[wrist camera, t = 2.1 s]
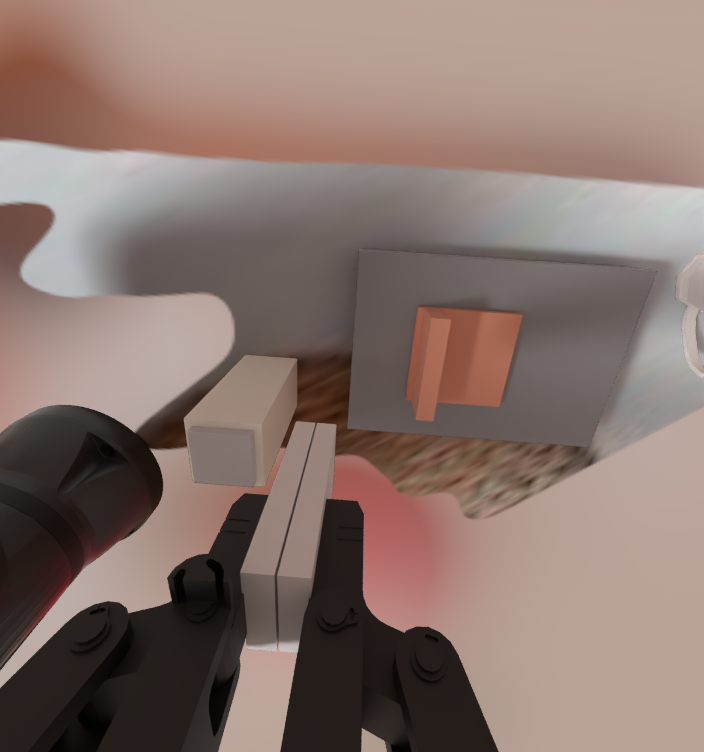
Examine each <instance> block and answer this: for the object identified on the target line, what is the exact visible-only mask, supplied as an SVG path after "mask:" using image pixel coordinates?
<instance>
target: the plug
mask: <svg viewBox="0 0 704 752" xmlns="http://www.w3.org/2000/svg"><path fill="white" fill-rule="evenodd" d="M296 407H297V359H296V358H282V357H269V356H255V355H245V356H244V357H243V358H242V359H241V360H240V361H239V362H238V363H237V364H236V365H235V366H234V367H233V368H232V369H231V370H230V371H229V372H228V373H227V374H226V375H225V376H224V377H223V378H222V379H221V380H220V381H219V383H218V384H217V385H216V386H215V387H214V388H213V389H212V390H211V391H210V392H209V393H208V394H207V395H206V396H205V397H204V398H203V399H202V400H201V401H200V402H199V403H198V404H197V405H196V406H195V407H194V408H193V409H192V410H191V411H190V412H189V413H188V414H187V416H186V417H185V418H184V425H185V432H186V439H187V446H188V453H189V460H190V466H191V473H192V480H193V482H195V483H206V484H219V485H231V486H244V487H254V486H258V487H265V484H266V482H267V479H268V477H269V474H270V471H271V469H272V467H273V464H274V462H275V459H276V457H277V454H278V452H279V449H280V447H281V444H282V442H283V439H284V437H285V434H286V432H287V429H288V427H289V424H290V422H291V419H292V417H293V414H294V412H295V409H296Z"/></svg>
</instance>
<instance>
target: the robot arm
mask: <svg viewBox="0 0 704 752" xmlns="http://www.w3.org/2000/svg"><path fill="white" fill-rule="evenodd" d="M335 442H336V424H325V423H317V425H316V429H315V423H312V422H299V421H296V423H295V426H294V429H293V432H292V434H291V437H290V440H289V442H288V445H287V448H286V450H285V453H284V456H283V459H282V461H281V464H280V466H279V469H278V472H277V475H276V477H275V480H274V483H273V485H272V488H271V491H270V493H269V495H260V494H247V493H245V494H243V495H242V496H241V497H240V498H239V499H238V500H237V501H236V502H235V503H234V504H233V505H232V507H231V509H230V511H229V513H228V515H227V517H226V520H225V521H224V523H223V525H222V527H221V529H220V533H218V535H217V537H216V540H215V541H214V544H213V546H212V547H211V549H210V552H209V554H201V555H197V556H194V557H191V558H189V559H186V560H185V561H184V562H182V563H181V564H180V565H178V566H177V567H175V569H174V570H173V571H172V572H171V574H170V575H169V576H168V578H167V579H168V584H169V589H170V594H171V598H172V601H171V602H169V603H167V604H164V605H161V606H158V607H154V608H149V609H145V610H141V611H136V612H132V613H128V611H127V608H126V607H124V606H123V605H122V604H120V603H117V602H109V601H107V602H103V603H99V604H94V605H92V606H91V607H88V608H86V609H85V610H83V611H81V612H79V613H78V614H77V615H75V616H74V617H73V618H72V619H70V620H69V621H68V622H67V623H66V624H65V625H64V626H63V627H62V628H61V629H60V630H59V631H58V632H57V633H56V634H54V635H53V637H51V638H50V639H49V640H48V641H47V642H46V644H44V645H43V646H42V647H41V648H40V649H39V650H38V651H37V652H36V653H35V654H34V655H33V656H32V657H31V658H30V659H29V660H28V661H27V662H26V663H25V664H24V665H23V666H22V667H21V668H20V669H19V670H18V671H17V672H16V673H15V674H14V675H13V676H12V677H11V678H10V679H9V680H8V681H7V682H6V683H5V684H4V685H3V686H2V687H1V688H0V752H218V750H219V746H220V743H221V739H222V736H223V732H224V728H225V725H226V721H227V718H228V714H229V711H230V707H231V704H232V700H233V697H234V693H235V690H236V686H237V682H238V679H239V673H240V654H241V651H242V648H243V645H244V642H245V638H246V644H247V648H248V649H259V650H271V651H277V648H278V643H279V651H283V652H293V653H297V659H296V664H295V670H294V676H293V682H292V687H291V693H290V699H289V705H288V711H287V717H286V722H285V729H284V734H283V740H282V746H281V751H280V752H361V735H362V728H363V729H365V730H367V731H369V732H370V733H372V734H374V735H375V736H377V737H379V738H381V739H382V740H384V741H385V744H386V749H387V752H498V749H497V747H496V744H495V742H494V740H493V737H492V735H491V733H490V730H489V728H488V725H487V723H486V720H485V718H484V716H483V713H482V711H481V708H480V706H479V704H478V701H477V699H476V696H475V694H474V692H473V689H472V687H471V684H470V682H469V680H468V677H467V675H466V672H465V670H464V668H463V665H462V663H461V660H460V658H459V655H458V654H457V652H456V650H455V649H454V647H453V645H452V644H451V642H450V641H449V640H448V639H447V638H446V637H445V636H443V635H442V634H441V633H440V632H438V631H436V630H434V629H431V628H429V627H414V628H412V629H409V630H407V631H406V632H405V633H403V632H401V631H399V630H397V629H395V628H393V627H390V626H388V625H386V624H385V623H383V622H381V621H380V620H378V619H377V618H376V617H375V616H374V615H373V614H372V613H371V612H370V610H369V609H368V607H367V606H366V603H365V600H364V597H363V527H364V522H363V521H364V514H363V512H362V510H361V508H360V506H359V504H358V502H357V501H348V500H335V499H331V495H332V487H333V480H334V461H335ZM162 491H163V479H162V474H161V470H160V467H159V465H158V463H157V460H156V458H155V457H154V455H153V453H152V452H151V450H150V449H149V448H148V446H147V445H146V444H145V443H144V442H143V441H142V440H141V439H140V438H139V437H138V436H137V435H136V434H135V433H134V432H133V431H132V430H130V429H129V428H128V427H126V426H125V425H124V424H122V423H120V422H119V421H117V420H115V419H114V418H112V417H110V416H108V415H105V414H103V413H101V412H98V411H95V410H92V409H89V408H84V407H79V406H72V405H55V406H48V407H44V408H41V409H38V410H36V411H34V412H32V413H30V414H28V415H26V416H25V417H23V418H21V419H19V420H17V421H16V422H14V423H12V424H11V425H9V426H8V427H7V428H6V429H4V430H3V431H2V432H1V434H0V670H1V669H2V668H3V667H4V665H5V664H6V663H7V662H8V660H9V659H10V658H11V657H12V655H13V654H14V653H15V652H16V651H17V649H18V648H19V647H20V646H21V644H22V643H23V642H24V641H25V639H26V638H27V637H28V636H29V634H30V633H31V632H32V630H33V629H34V628H35V627H36V626H37V625H38V623H39V622H40V621H41V620H42V618H43V617H44V616H45V615H46V613H47V612H48V611H49V610H50V609H51V607H52V606H53V605H54V604H55V602H56V601H57V600H58V599H59V597H60V596H61V595H62V594H63V593H64V591H65V590H66V588H67V587H68V586H69V585H70V584H71V583H72V582H73V581H74V579H75V578H76V577H77V575H79V573H80V572H81V571H82V570H83V569H84V568H85V567H86V566H87V565H89V564H90V563H92V562H93V561H94V560H96V559H97V558H99V557H100V556H101V555H102V554H104V553H105V552H106V551H108V550H109V549H110V548H111V547H112V546H113V545H115V544H116V543H117V542H118V541H121V540H123V539H125V538H127V537H129V536H130V535H131V534H133V533H134V532H136V531H137V530H138V529H139V528H140V527H141V526H142V525H143V524H144V523H145V522H146V520H147V519H148V518H149V517H150V515H151V514H152V513H153V511H154V510H155V509H156V507H157V506H158V504H159V502H160V500H161V497H162Z"/></svg>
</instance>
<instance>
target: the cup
mask: <svg viewBox="0 0 704 752" xmlns="http://www.w3.org/2000/svg"><path fill="white" fill-rule="evenodd" d="M675 298H677V299H678V300H680V301H681V302H683V303H684V304H686V305H687V308H686V310H685V312H684V315H683V324H682V336H683V346H684V354H685V357H686V360H687V362H688V365H689V367H690V368H691V369H692V370H693V371H694V372H695V373H696V374H697V375H698V376H700V377H703V378H704V367H703V366H702V364H701V361H700V358H699V355H698V349H697V342H696V333H695V328H696V316H697V314H698V312H699V311H700V310H701V311H702V312H704V253H702V254H698V255H695V256H694V258H693V259H692V260H691V261H690V262H689V263H688V264H687V265H686V266H685V267H684V268H683V270H682V271H681V272H680V273H679V274H678V275H677V282H676V297H675Z"/></svg>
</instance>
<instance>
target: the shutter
mask: <svg viewBox="0 0 704 752" xmlns="http://www.w3.org/2000/svg"><path fill="white" fill-rule="evenodd" d="M522 316H523V315H522V314H520V313H512V312H498V311H484V310H470V309H456V308H442V307H428V306H417V313H416V320H415V328H414V335H413V343H412V350H411V357H410V365H409V372H408V379H407V387H406V394H405V398H406V400H411V402H412V406H413V410H414V414H415V418H416V420H423V421H433V420H434V414H435V409H436V403H437V402H439V403H452V404H465V405H479V406H492V407H499V406H500V402H501V398H502V394H503V390H504V386H505V382H506V379H507V375H508V371H509V367H510V363H511V359H512V355H513V351H514V347H515V343H516V339H517V336H518V332H519V328H520V324H521V320H522Z"/></svg>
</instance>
